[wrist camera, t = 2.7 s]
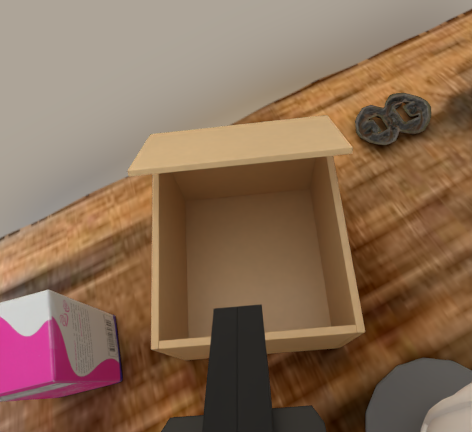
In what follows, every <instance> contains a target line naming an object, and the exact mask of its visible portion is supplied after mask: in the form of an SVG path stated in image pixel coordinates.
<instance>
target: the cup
mask: <svg viewBox="0 0 472 432" xmlns="http://www.w3.org/2000/svg"><path fill="white" fill-rule="evenodd" d="M366 432H472V370H470V369H468V368H466V367H464V366H462V365H460V364H458V363H456V362H454V361H450V360H440V359H430V358H421V359H417V360H414V361H411V362H408V363H405V364H402V365H399V366H396V367H395V368H394V369H393V370H392V371H391V372H390V373H389V374H388V375H387V376H386V377H385V378H384V379H383V380H381V381H380V382H379V383H378V384H377V385H376V388H375V390H374V393H373V395H372V398H371V400H370V403H369V405H368V408H367V410H366Z"/></svg>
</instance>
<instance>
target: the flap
mask: <svg viewBox="0 0 472 432" xmlns="http://www.w3.org/2000/svg"><path fill="white" fill-rule="evenodd" d="M352 153H353V147H352V146H351V145H350V144H349V142H348V141H347V140H346V138H345V137H344V136H343V135H342V133H341V132H340V131H339V130H338V128H337V127H336V126H335V124H334V123H333V122H332V121H331V119H330V118H329V117H328V116H327V115H324V116H315V117H306V118H296V119H287V120H278V121H268V122H259V123H250V124H241V125H231V126H222V127H213V128H204V129H194V130H185V131H176V132H166V133H157V134H150V136H149V138H148V139H147V141H146V142H145V144H144V145H143V147H142V149H141V150H140V152H139V153H138V155H137V156H136V158H135V160H134V161H133V163H132V165H131V166H130V168H129V169H128V175H129V177H130V176H140V175H150V174H160V173H169V172H179V171H189V170H199V169H208V168H218V167H228V166H238V165H247V164H257V163H267V162H276V161H286V160H296V159H306V158H315V157H325V156H335V155H345V154H352Z"/></svg>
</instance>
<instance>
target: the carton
mask: <svg viewBox="0 0 472 432" xmlns="http://www.w3.org/2000/svg"><path fill="white" fill-rule="evenodd" d="M260 304H262V312H263V322H264V331H265V341H266V351H267V354H272V353H284V352H297V351H309V350H322V349H334V348H340V347H342V346H344V345H345V344H347V343H349V342H350V341H352V340H353V339H355V338H357V337H358V336H360V335H362V334H363V333H365V327H364V322H363V316H362V311H361V305H360V300H359V294H358V289H357V284H356V278H355V273H354V267H353V262H352V256H351V251H350V245H349V240H348V235H347V229H346V224H345V218H344V213H343V207H342V202H341V197H340V191H339V186H338V180H337V175H336V169H335V164H334V158H333V156H325V157H315V158H306V159H296V160H286V161H276V162H267V163H257V164H247V165H238V166H228V167H218V168H208V169H199V170H189V171H179V172H169V173H160V174H153V175H152V291H151V350H154V351H157V352H160V353H163V354H167V355H170V356H173V357H176V358H179V359H182V360H196V359H209V353H210V342H211V332H212V321H213V310H214V309H215V308H226V307H237V306H248V305H260Z"/></svg>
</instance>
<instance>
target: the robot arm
mask: <svg viewBox="0 0 472 432" xmlns="http://www.w3.org/2000/svg"><path fill="white" fill-rule="evenodd" d="M161 432H326V428H325V423H324V421H323V420H322V419H321V417H320V416H319V415H318V413H317V412H316V411H315V409H314V408H313V406H312V405H311V406H298V407H285V408H273V409H272V402H271V391H270V381H269V370H268V360H267V351H266V341H265V331H264V322H263V312H262V304H260V305H248V306H237V307H226V308H215V309H214V310H213V321H212V332H211V342H210V353H209V364H208V374H207V385H206V395H205V406H204V415H199V416H186V417H173V418H170V419H169V420H168V422H167V423H166V425H165V426H164V428H163V430H162V431H161Z"/></svg>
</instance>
